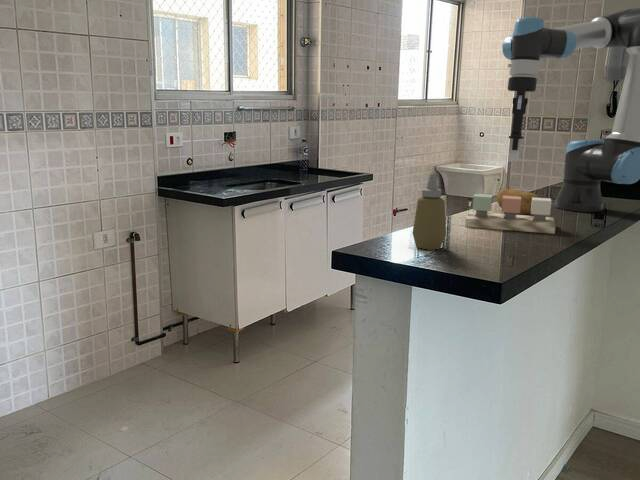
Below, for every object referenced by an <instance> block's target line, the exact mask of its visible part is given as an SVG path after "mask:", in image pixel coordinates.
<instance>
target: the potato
mask: <svg viewBox="0 0 640 480" xmlns="http://www.w3.org/2000/svg"><path fill="white" fill-rule="evenodd" d="M503 196H517V197H521V206H520V213H516V215H526V216H529V215H530V214H531V204H532V197H534V198H541V197H540V196H539V195H537V194H536V193H533V192H528V191H524V190H521V189H513V188H503V189H501V190H499V191H498V192H497V195H496V202H497V204H498V206H499V207H500V209H502V200H503Z"/></svg>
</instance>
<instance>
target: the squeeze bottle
mask: <svg viewBox="0 0 640 480" xmlns="http://www.w3.org/2000/svg"><path fill="white" fill-rule="evenodd" d="M428 177H429V178H428V181H427V185H426V188H425V187H424V188H422V189H421V197H418V199H417V202H416V210H415V215H414V222H413V228H412V237H413V240H414V244H415V247H416V248H417V247H418V248H417V249H420V248H422V249H421V250H424V249H427V251H436V250H435V249H437V250H439V248H440V249H441V248H442V245H443V242H444V240H445V238H446V234H447V230H446V202H445V201H446V200H444V199H443V198H442V189H440V188H438V185H437V178H436V174H435V173H430V175H429V176H428Z"/></svg>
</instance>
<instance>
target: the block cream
mask: <svg viewBox="0 0 640 480" xmlns="http://www.w3.org/2000/svg"><path fill="white" fill-rule="evenodd" d="M551 209H552V199H551V198H549V197H548V198H547V197H540V198H534V197H532V204H531V213H530V214H531V215H533V216H534V221H543V222H545V220H546V217H547V216H550V215H551Z"/></svg>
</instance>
